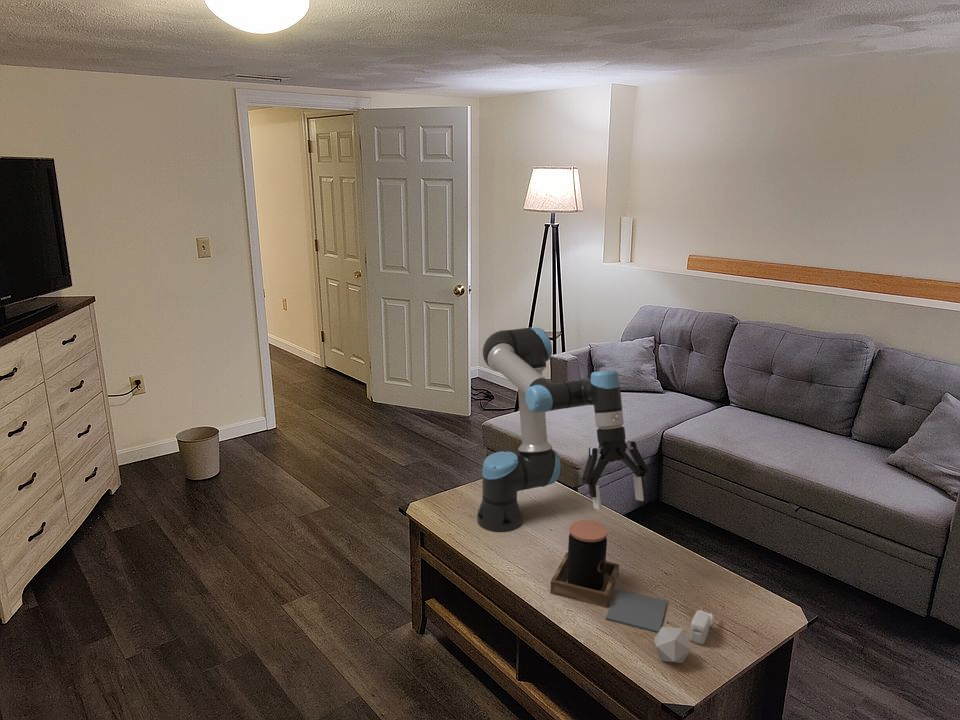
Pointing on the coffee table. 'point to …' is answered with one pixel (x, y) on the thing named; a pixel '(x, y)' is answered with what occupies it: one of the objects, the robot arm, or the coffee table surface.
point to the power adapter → (701, 626)
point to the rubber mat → (637, 610)
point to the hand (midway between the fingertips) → (619, 504)
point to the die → (672, 644)
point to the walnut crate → (582, 592)
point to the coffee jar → (587, 554)
